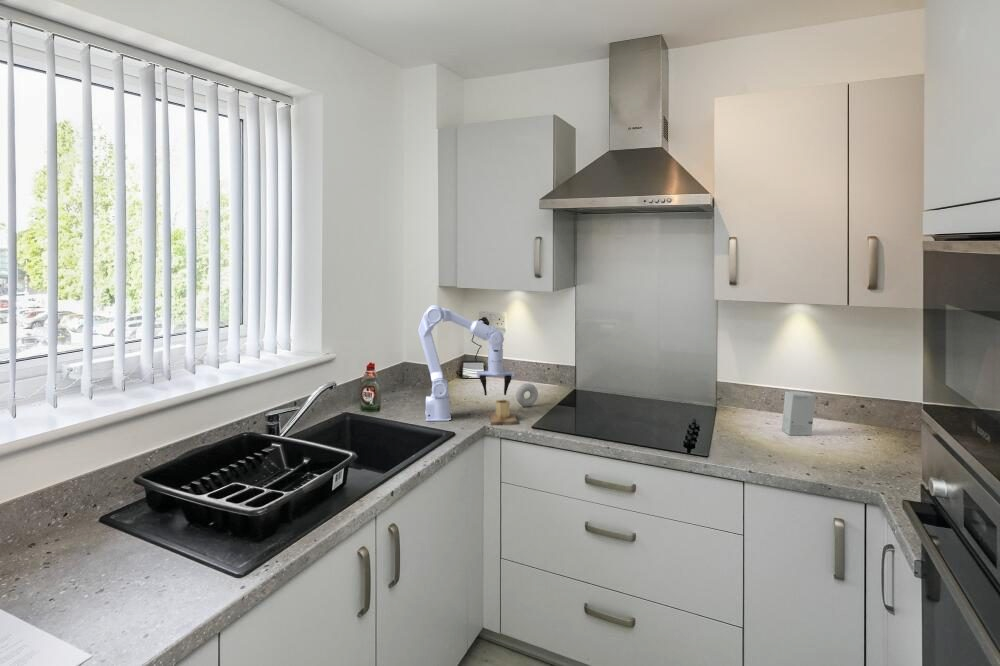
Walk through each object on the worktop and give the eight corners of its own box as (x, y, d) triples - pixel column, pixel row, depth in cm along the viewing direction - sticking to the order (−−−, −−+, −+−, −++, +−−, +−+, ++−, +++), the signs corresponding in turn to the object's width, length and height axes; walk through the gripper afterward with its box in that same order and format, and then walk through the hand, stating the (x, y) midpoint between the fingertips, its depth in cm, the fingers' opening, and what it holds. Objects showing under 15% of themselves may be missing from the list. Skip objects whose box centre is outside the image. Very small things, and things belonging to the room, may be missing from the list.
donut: (535, 404, 239) (535, 381, 237) (539, 406, 236) (539, 383, 234) (514, 406, 235) (514, 383, 233) (517, 408, 232) (518, 385, 230)
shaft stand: (490, 425, 210) (490, 410, 209) (488, 415, 222) (488, 401, 222) (517, 424, 211) (517, 410, 210) (513, 414, 223) (513, 401, 223)
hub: (496, 418, 213) (496, 403, 213) (495, 415, 219) (495, 400, 218) (510, 418, 214) (510, 403, 213) (508, 414, 219) (508, 399, 218)
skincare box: (789, 435, 198) (792, 394, 196) (780, 430, 204) (783, 390, 202) (812, 435, 198) (816, 395, 196) (803, 430, 204) (807, 390, 202)
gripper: (477, 362, 213) (477, 397, 215) (515, 362, 214) (514, 396, 216) (476, 359, 220) (476, 392, 221) (513, 358, 221) (512, 392, 223)
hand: (495, 394), depth 219 cm, fingers open, 7 cm apart
